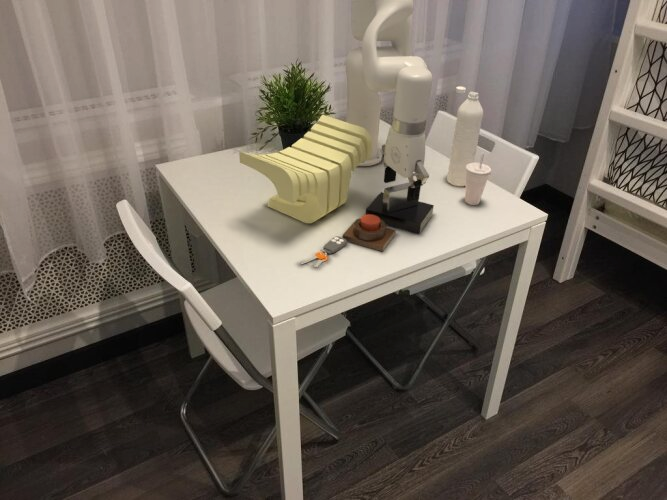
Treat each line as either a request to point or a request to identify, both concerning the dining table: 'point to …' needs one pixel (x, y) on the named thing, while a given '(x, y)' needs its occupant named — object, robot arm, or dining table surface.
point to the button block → (369, 236)
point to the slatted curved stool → (314, 168)
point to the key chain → (328, 249)
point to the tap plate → (402, 215)
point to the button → (370, 222)
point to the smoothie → (476, 181)
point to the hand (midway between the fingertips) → (400, 190)
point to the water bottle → (465, 138)
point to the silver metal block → (397, 198)
